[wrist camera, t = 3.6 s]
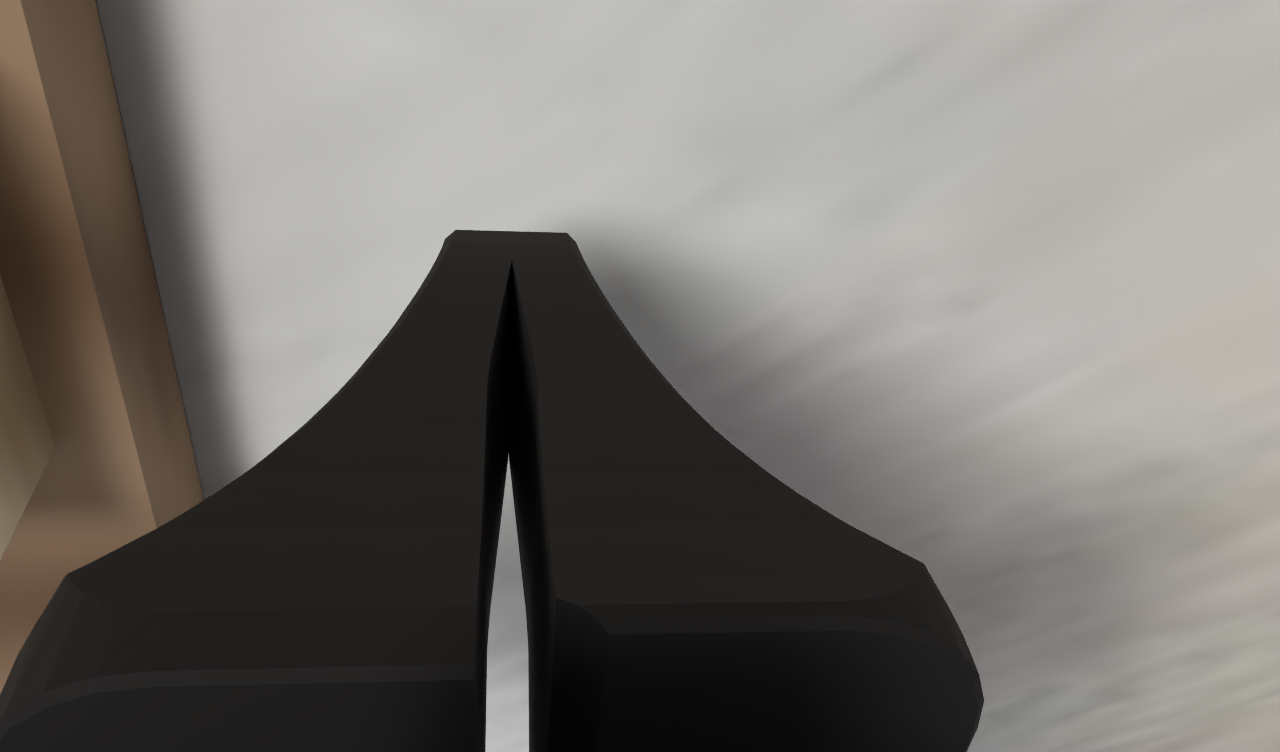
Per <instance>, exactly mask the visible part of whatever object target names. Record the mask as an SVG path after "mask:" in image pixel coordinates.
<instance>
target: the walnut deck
mask: <svg viewBox="0 0 1280 752" xmlns="http://www.w3.org/2000/svg"><path fill="white" fill-rule="evenodd" d="M0 276H1V279H2V282H3V285H4V288H5V291H6V295H7V298H8V301H9V304H10V307H11V310H12V314H13V317H14V320H15V323H16V326H17V329H18V332H19V336H20V339H21V342H22V345H23V348H24V351H25V355H26V358H27V361H28V364H29V367H30V370H31V373H32V377H33V380H34V383H35V386H36V389H37V392H38V395H39V399H40V402H41V405H42V408H43V411H44V414H45V418H46V421H47V424H48V427H49V430H50V433H51V436H52V440H53V443H54V446H55V448H54V450H53V452H52V454H51V456H50V458H49V460H48V463H47V465H46V467H45V469H44V471H43V473H42V475H41V477H40V479H39V481H38V483H37V485H36V487H35V489H34V491H33V493H32V496H31V498H30V500H29V502H28V504H27V506H26V508H25V510H24V512H23V514H22V516H21V518H20V520H19V522H18V524H17V526H16V529H15V531H14V533H13V535H12V537H11V539H10V541H9V543H8V545H7V547H6V549H5V551H4V553H3V555H2V557H1V559H0V694H1V692H2V690H3V687H4V685H5V683H6V680H7V678H8V676H9V673H10V671H11V669H12V667H13V664H14V662H15V660H16V658H17V656H18V654H19V652H20V650H21V648H22V646H23V645H24V643H25V641H26V639H27V638H28V636H29V634H30V632H31V631H32V629H33V627H34V626H35V624H36V622H37V620H38V619H39V617H40V616H41V614H42V613H43V611H44V610H45V608H46V606H47V605H48V603H49V601H50V600H51V598H52V596H53V595H54V593H55V591H56V590H57V588H58V586H59V585H60V583H61V581H62V580H63V578H64V577H65V576H66V575H67V574H68V573H70V572H72V571H74V570H76V569H78V568H81V567H83V566H85V565H87V564H89V563H91V562H93V561H95V560H97V559H99V558H101V557H103V556H104V555H106V554H108V553H110V552H112V551H114V550H116V549H118V548H120V547H122V546H124V545H126V544H128V543H130V542H132V541H133V540H135V539H137V538H139V537H141V536H143V535H145V534H147V533H149V532H151V531H153V530H155V529H157V528H158V527H160V526H162V525H164V524H165V523H167V522H169V521H171V520H172V519H174V518H176V517H178V516H179V515H181V514H183V513H184V512H186V511H187V510H189V509H191V508H192V507H194V506H196V505H197V504H199V503H200V502H202V501H204V499H203V494H202V489H201V485H200V480H199V475H198V471H197V466H196V462H195V457H194V452H193V448H192V443H191V439H190V434H189V429H188V425H187V420H186V416H185V411H184V406H183V402H182V397H181V392H180V388H179V383H178V379H177V374H176V369H175V365H174V360H173V356H172V351H171V346H170V342H169V337H168V333H167V328H166V323H165V319H164V314H163V309H162V305H161V300H160V296H159V291H158V286H157V282H156V277H155V273H154V268H153V263H152V259H151V254H150V250H149V245H148V240H147V236H146V231H145V226H144V222H143V217H142V213H141V208H140V203H139V199H138V194H137V190H136V185H135V180H134V176H133V171H132V167H131V162H130V157H129V153H128V148H127V143H126V139H125V134H124V130H123V125H122V120H121V116H120V111H119V107H118V102H117V97H116V93H115V88H114V83H113V79H112V74H111V70H110V65H109V60H108V56H107V51H106V47H105V42H104V37H103V33H102V28H101V24H100V19H99V14H98V10H97V5H96V0H0Z"/></svg>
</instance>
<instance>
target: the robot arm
mask: <svg viewBox="0 0 1280 752" xmlns="http://www.w3.org/2000/svg"><path fill="white" fill-rule="evenodd" d="M508 454H509V461H510V470H511V479H512V488H513V498H514V507H515V516H516V525H517V534H518V543H519V552H520V561H521V570H522V579H523V588H524V597H525V606H526V617H527V632H528V651H529V752H967V750H968V748H969V745H970V743H971V741H972V739H973V737H974V734H975V732H976V730H977V728H978V724H979V719H980V715H981V711H982V707H983V703H984V697H983V693H982V688H981V683H980V678H979V673H978V671H977V668H976V666H975V663H974V661H973V658H972V656H971V653H970V651H969V648H968V646H967V644H966V641H965V639H964V636H963V634H962V632H961V630H960V628H959V626H958V624H957V622H956V620H955V618H954V616H953V615H952V613H951V611H950V609H949V607H948V605H947V603H946V602H945V600H944V598H943V596H942V595H941V593H940V591H939V590H938V588H937V586H936V584H935V583H934V581H933V579H932V577H931V575H930V574H929V572H928V570H927V568H926V566H925V565H924V564H923V563H921V562H919V561H918V560H916V559H914V558H912V557H910V556H908V555H906V554H904V553H902V552H900V551H898V550H896V549H894V548H892V547H891V546H889V545H887V544H885V543H883V542H881V541H879V540H877V539H875V538H873V537H871V536H869V535H867V534H866V533H864V532H862V531H860V530H858V529H856V528H854V527H852V526H850V525H848V524H846V523H845V522H843V521H841V520H840V519H838V518H836V517H835V516H833V515H831V514H830V513H828V512H827V511H825V510H823V509H822V508H820V507H819V506H817V505H815V504H814V503H812V502H811V501H809V500H808V499H806V498H804V497H803V496H801V495H800V494H798V493H796V492H795V491H794V490H792V489H791V488H789V487H788V486H786V485H785V484H784V483H782V482H781V481H779V480H778V479H776V478H775V477H773V476H772V475H771V474H769V473H768V472H767V471H765V470H764V469H763V468H761V467H760V466H759V465H758V464H756V463H755V462H754V461H753V460H751V459H750V458H749V457H747V456H746V455H745V454H744V453H742V452H741V451H740V450H738V449H737V448H736V447H735V446H733V445H732V444H731V443H730V442H729V441H727V440H726V439H725V438H724V437H723V436H722V435H720V434H719V433H718V432H717V431H716V430H715V429H713V428H712V427H711V426H710V425H709V424H708V423H707V422H706V421H705V420H704V419H703V418H702V417H701V416H700V415H699V414H698V413H697V412H696V411H695V410H694V409H693V408H692V407H691V406H690V405H689V404H688V403H687V402H686V401H685V400H684V399H683V398H682V396H681V395H680V394H679V393H678V392H677V391H676V390H675V389H674V388H673V387H672V385H671V384H670V383H669V382H668V381H667V380H666V379H665V377H664V376H663V375H662V374H661V373H660V371H659V370H658V369H657V368H656V367H655V365H654V364H653V363H652V362H651V361H650V359H649V358H648V357H647V356H646V354H645V353H644V352H643V350H642V349H641V348H640V346H639V345H638V344H637V343H636V341H635V340H634V339H633V337H632V336H631V334H630V333H629V331H628V330H627V329H626V327H625V326H624V324H623V323H622V321H621V320H620V319H619V317H618V316H617V314H616V313H615V311H614V310H613V309H612V307H611V305H610V304H609V302H608V301H607V299H606V298H605V296H604V294H603V293H602V291H601V289H600V288H599V286H598V284H597V283H596V281H595V279H594V278H593V276H592V274H591V272H590V271H589V269H588V267H587V265H586V263H585V261H584V259H583V257H582V255H581V253H580V251H579V248H578V246H577V243H576V242H575V241H574V240H573V239H572V238H571V237H570V236H569V235H568V233H551V232H513V231H475V230H455V231H454V232H453V233H452V234H450V235H449V236H448V237H447V238H446V239H445V241H444V244H443V246H442V249H441V251H440V253H439V255H438V257H437V259H436V261H435V263H434V265H433V267H432V268H431V270H430V272H429V274H428V275H427V277H426V279H425V280H424V282H423V283H422V285H421V287H420V288H419V290H418V292H417V293H416V295H415V296H414V298H413V299H412V300H411V302H410V303H409V305H408V306H407V308H406V309H405V311H404V312H403V313H402V315H401V316H400V318H399V319H398V321H397V322H396V324H395V325H394V326H393V328H392V329H391V330H390V332H389V333H388V334H387V336H386V337H385V338H384V339H383V340H382V342H381V343H380V344H379V345H378V347H377V348H376V349H375V350H374V351H373V353H372V354H371V355H370V356H369V357H368V359H367V360H366V361H365V362H364V364H363V365H362V366H361V367H360V368H359V370H358V371H357V372H356V373H355V374H354V375H353V376H352V378H351V379H350V380H349V381H348V382H347V383H346V384H345V385H344V386H343V387H342V388H341V389H340V390H339V392H338V393H337V394H336V395H335V396H334V397H333V398H332V399H331V400H330V401H329V402H328V403H327V404H326V405H325V406H324V407H322V408H321V409H320V410H319V411H318V412H317V413H316V414H315V415H314V416H313V417H312V418H311V419H310V420H309V421H308V422H307V423H306V424H305V425H303V426H302V427H301V428H300V429H299V430H298V431H296V432H295V433H294V434H293V435H292V436H290V437H289V438H288V439H287V440H286V441H285V442H283V443H282V444H281V445H280V446H279V447H277V448H276V449H275V450H274V451H273V452H272V453H270V454H269V455H268V456H267V457H265V458H264V459H263V460H262V461H260V462H259V463H258V464H256V465H255V466H254V467H253V468H251V469H250V470H249V471H247V472H246V473H244V474H243V475H242V476H240V477H239V478H237V479H236V480H234V481H233V482H231V483H230V484H228V485H227V486H225V487H224V488H222V489H221V490H219V491H218V492H216V493H215V494H213V495H212V496H210V497H208V498H207V499H205V500H204V501H202V502H200V503H199V504H197V505H196V506H194V507H192V508H191V509H189V510H187V511H186V512H184V513H183V514H181V515H179V516H178V517H176V518H174V519H172V520H171V521H169V522H167V523H165V524H164V525H162V526H160V527H158V528H157V529H155V530H153V531H151V532H149V533H147V534H145V535H143V536H141V537H139V538H137V539H135V540H133V541H132V542H130V543H128V544H126V545H124V546H122V547H120V548H118V549H116V550H114V551H112V552H110V553H108V554H106V555H104V556H103V557H101V558H99V559H97V560H95V561H93V562H91V563H89V564H87V565H85V566H83V567H81V568H78V569H76V570H74V571H72V572H70V573H68V574H67V575H66V576H65V577H64V578H63V580H62V581H61V583H60V585H59V586H58V588H57V590H56V591H55V593H54V595H53V596H52V598H51V600H50V601H49V603H48V605H47V606H46V608H45V610H44V611H43V613H42V614H41V616H40V617H39V619H38V620H37V622H36V624H35V626H34V627H33V629H32V631H31V632H30V634H29V636H28V638H27V639H26V641H25V643H24V645H23V646H22V648H21V650H20V652H19V654H18V656H17V658H16V660H15V662H14V664H13V667H12V669H11V671H10V673H9V676H8V678H7V680H6V683H5V685H4V687H3V690H2V692H1V694H0V752H485V736H486V679H487V642H488V629H489V615H490V606H491V597H492V589H493V581H494V572H495V564H496V555H497V547H498V539H499V530H500V522H501V514H502V505H503V497H504V488H505V480H506V471H507V463H508Z"/></svg>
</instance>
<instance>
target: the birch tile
mask: <svg viewBox="0 0 1280 752" xmlns="http://www.w3.org/2000/svg"><path fill="white" fill-rule="evenodd" d="M54 448H55V446H54V443H53V440H52V436H51V433H50V430H49V427H48V424H47V421H46V418H45V414H44V411H43V408H42V405H41V402H40V399H39V395H38V392H37V389H36V386H35V383H34V380H33V377H32V373H31V370H30V367H29V364H28V361H27V358H26V355H25V351H24V348H23V345H22V342H21V339H20V336H19V332H18V329H17V326H16V323H15V320H14V317H13V314H12V310H11V307H10V304H9V301H8V298H7V295H6V291H5V288H4V285H3V282H2V279H1V276H0V559H1V557H2V555H3V553H4V551H5V549H6V547H7V545H8V543H9V541H10V539H11V537H12V535H13V533H14V531H15V529H16V526H17V524H18V522H19V520H20V518H21V516H22V514H23V512H24V510H25V508H26V506H27V504H28V502H29V500H30V498H31V496H32V493H33V491H34V489H35V487H36V485H37V483H38V481H39V479H40V477H41V475H42V473H43V471H44V469H45V467H46V465H47V463H48V460H49V458H50V456H51V454H52V452H53V450H54Z"/></svg>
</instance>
